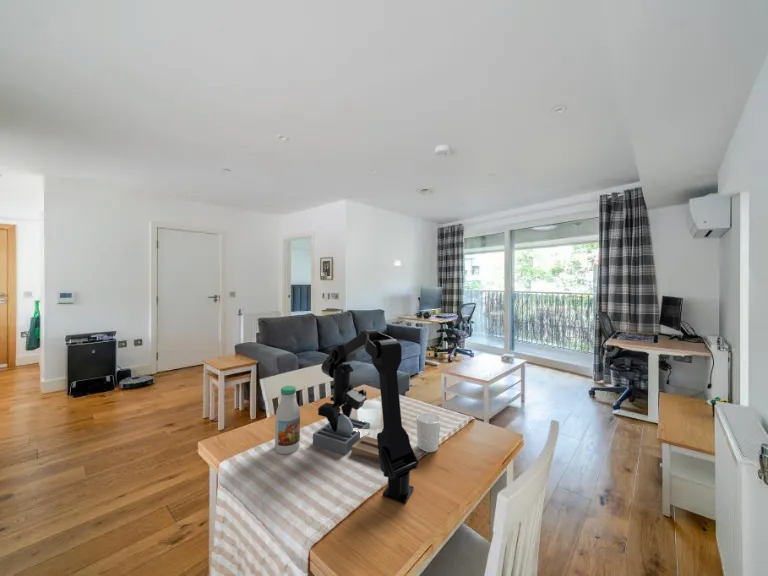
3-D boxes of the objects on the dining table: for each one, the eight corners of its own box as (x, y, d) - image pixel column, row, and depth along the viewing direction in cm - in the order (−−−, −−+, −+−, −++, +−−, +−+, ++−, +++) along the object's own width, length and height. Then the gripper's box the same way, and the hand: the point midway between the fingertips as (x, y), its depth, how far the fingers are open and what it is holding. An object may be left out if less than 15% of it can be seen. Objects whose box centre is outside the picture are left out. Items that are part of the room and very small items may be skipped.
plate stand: (386, 465, 95) (386, 457, 95) (351, 454, 100) (351, 446, 100) (396, 452, 102) (396, 444, 102) (363, 442, 107) (363, 435, 107)
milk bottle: (269, 452, 100) (270, 390, 99) (284, 440, 107) (285, 382, 106) (290, 457, 98) (291, 393, 97) (304, 444, 105) (305, 385, 104)
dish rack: (345, 454, 100) (346, 443, 100) (312, 443, 106) (312, 433, 105) (369, 432, 114) (370, 422, 114) (339, 424, 120) (339, 415, 120)
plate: (350, 443, 106) (351, 417, 106) (328, 437, 110) (329, 412, 110) (352, 442, 107) (353, 416, 107) (330, 435, 111) (331, 410, 111)
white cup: (438, 441, 109) (439, 413, 109) (440, 454, 102) (441, 424, 101) (415, 439, 110) (416, 411, 110) (415, 452, 102) (416, 422, 102)
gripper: (347, 395, 96) (345, 446, 97) (375, 378, 113) (374, 421, 113) (317, 389, 101) (316, 437, 101) (348, 373, 118) (347, 414, 118)
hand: (340, 426), depth 109 cm, fingers open, 7 cm apart
